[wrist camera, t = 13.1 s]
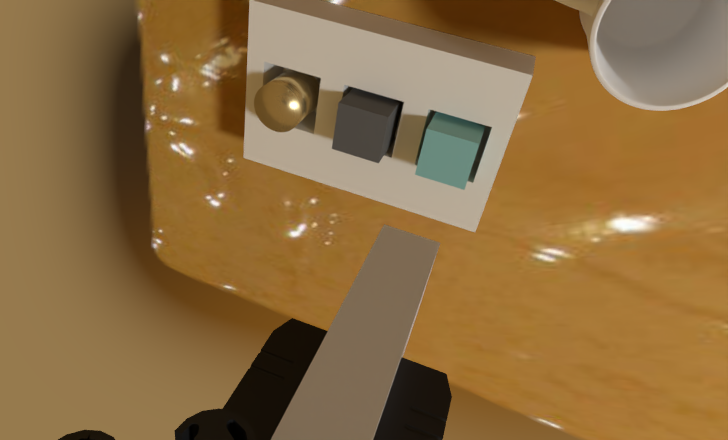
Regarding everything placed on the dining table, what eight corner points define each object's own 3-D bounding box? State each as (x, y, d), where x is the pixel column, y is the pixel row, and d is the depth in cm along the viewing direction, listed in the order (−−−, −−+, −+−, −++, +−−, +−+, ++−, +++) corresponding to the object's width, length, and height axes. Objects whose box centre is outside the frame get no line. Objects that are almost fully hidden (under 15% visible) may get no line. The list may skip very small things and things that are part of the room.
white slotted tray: (278, -11, 44) (249, -1, 40) (535, 56, 41) (532, 75, 37) (268, 136, 52) (243, 157, 48) (482, 203, 49) (475, 232, 45)
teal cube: (438, 107, 42) (426, 128, 38) (486, 121, 41) (479, 144, 38) (426, 151, 44) (414, 174, 41) (472, 164, 44) (464, 189, 40)
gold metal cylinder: (280, 62, 44) (255, 77, 41) (323, 74, 44) (302, 91, 40) (276, 105, 47) (252, 124, 43) (318, 118, 46) (297, 138, 42)
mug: (516, 14, 39) (500, 55, 30) (577, -113, 34) (582, -113, 25) (663, 76, 39) (697, 139, 29) (748, -45, 34) (823, -17, 24)
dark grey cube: (357, 84, 43) (338, 102, 40) (403, 97, 42) (388, 117, 39) (350, 128, 45) (331, 148, 42) (393, 141, 45) (378, 163, 41)
